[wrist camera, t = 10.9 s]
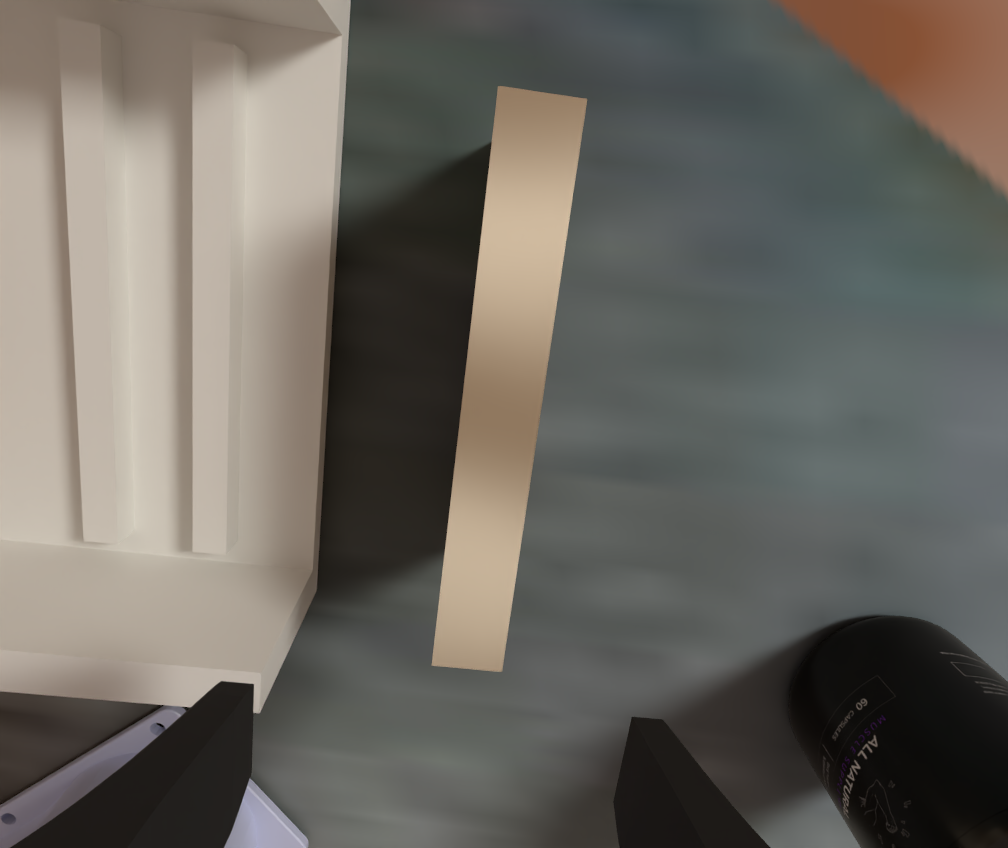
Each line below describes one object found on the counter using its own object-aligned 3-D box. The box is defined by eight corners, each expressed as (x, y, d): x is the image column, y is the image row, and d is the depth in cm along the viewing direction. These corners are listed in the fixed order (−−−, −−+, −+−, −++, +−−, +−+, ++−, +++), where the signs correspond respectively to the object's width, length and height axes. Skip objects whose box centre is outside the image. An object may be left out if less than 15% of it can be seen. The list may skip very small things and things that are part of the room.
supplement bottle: (754, 656, 24) (1008, 1052, 12) (936, 578, 23) (1384, 920, 12) (815, 791, 26) (1086, 1246, 14) (985, 722, 25) (1415, 1142, 13)
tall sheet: (495, 529, 22) (501, 672, 15) (448, 525, 22) (431, 665, 15) (547, 150, 19) (587, 99, 12) (492, 142, 19) (498, 85, 12)
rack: (316, 590, 23) (259, 713, 17) (-116, 548, 22) (-333, 663, 16) (351, -7, 18) (287, -124, 12) (-206, -94, 17) (-568, -265, 11)
